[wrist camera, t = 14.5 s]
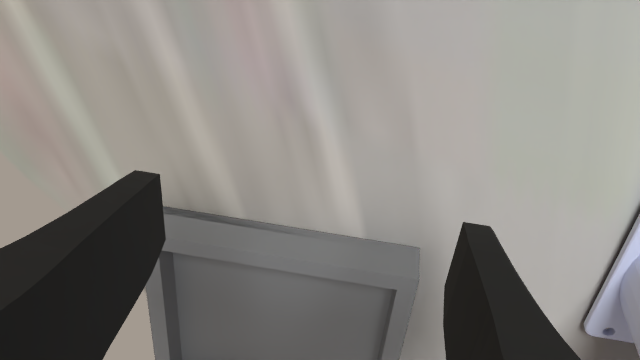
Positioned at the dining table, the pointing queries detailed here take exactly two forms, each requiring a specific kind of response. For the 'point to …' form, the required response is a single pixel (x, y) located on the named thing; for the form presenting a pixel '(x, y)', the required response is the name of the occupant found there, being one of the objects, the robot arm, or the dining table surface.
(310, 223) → the dining table surface
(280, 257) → the charcoal tray
